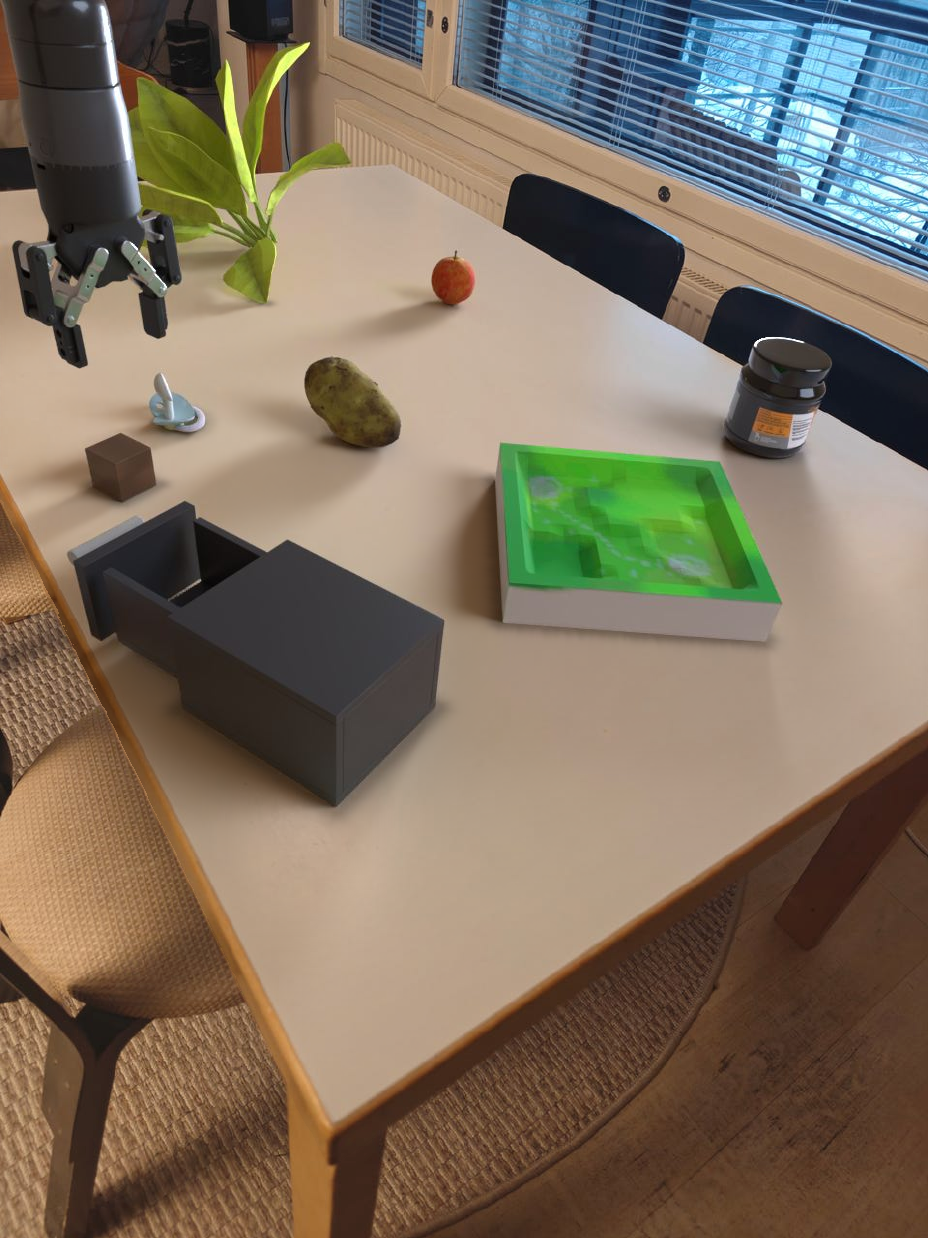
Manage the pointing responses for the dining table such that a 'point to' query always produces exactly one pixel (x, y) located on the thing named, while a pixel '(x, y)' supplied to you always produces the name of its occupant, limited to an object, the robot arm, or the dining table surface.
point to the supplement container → (777, 397)
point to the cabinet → (307, 666)
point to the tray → (627, 545)
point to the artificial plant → (216, 168)
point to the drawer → (153, 576)
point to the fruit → (453, 280)
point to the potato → (351, 403)
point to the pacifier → (173, 408)
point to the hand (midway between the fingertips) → (117, 349)
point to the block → (121, 466)
